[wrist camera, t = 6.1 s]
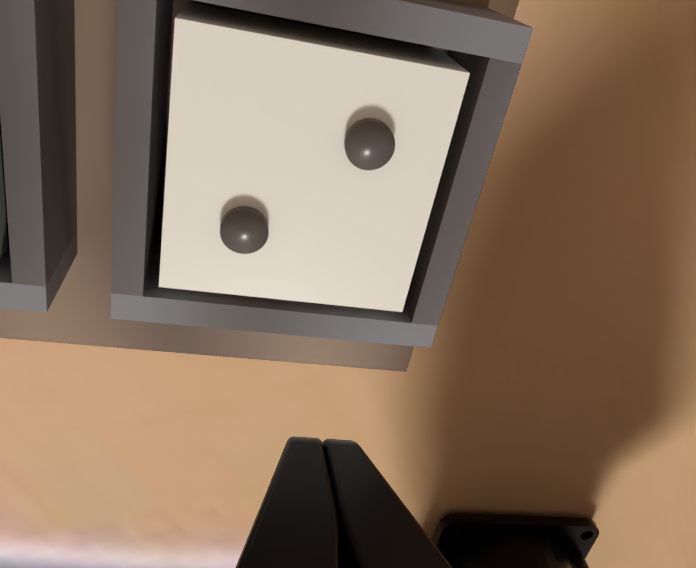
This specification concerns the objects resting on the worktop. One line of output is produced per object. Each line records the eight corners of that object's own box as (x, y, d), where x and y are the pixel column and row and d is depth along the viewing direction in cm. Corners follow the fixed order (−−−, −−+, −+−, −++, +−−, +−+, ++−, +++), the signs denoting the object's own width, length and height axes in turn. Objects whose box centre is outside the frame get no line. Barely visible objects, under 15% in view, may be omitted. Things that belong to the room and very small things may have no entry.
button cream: (441, 50, 13) (473, 75, 11) (386, 266, 15) (404, 317, 13) (186, 1, 12) (173, 19, 10) (170, 240, 14) (157, 292, 12)
